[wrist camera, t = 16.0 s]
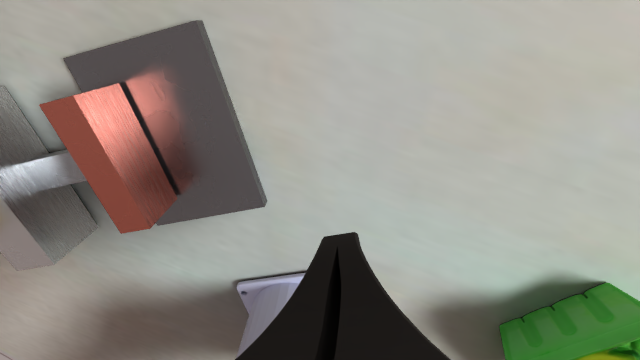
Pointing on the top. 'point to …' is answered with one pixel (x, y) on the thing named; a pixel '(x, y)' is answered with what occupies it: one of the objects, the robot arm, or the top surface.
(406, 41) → the top surface
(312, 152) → the top surface
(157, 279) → the top surface
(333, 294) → the robot arm
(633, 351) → the fruit basket
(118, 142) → the sliding jaw
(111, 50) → the base
